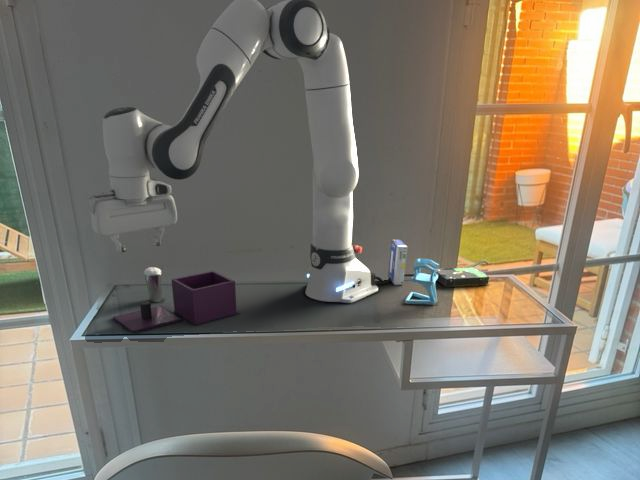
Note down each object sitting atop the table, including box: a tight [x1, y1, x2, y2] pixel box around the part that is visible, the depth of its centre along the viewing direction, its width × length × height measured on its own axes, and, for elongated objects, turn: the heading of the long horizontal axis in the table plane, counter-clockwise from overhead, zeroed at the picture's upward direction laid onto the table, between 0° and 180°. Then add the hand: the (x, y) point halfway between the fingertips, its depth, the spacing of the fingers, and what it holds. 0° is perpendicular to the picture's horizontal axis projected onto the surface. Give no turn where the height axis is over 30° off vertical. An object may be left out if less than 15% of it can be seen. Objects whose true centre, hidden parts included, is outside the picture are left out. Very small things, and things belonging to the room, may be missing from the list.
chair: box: [404, 258, 440, 306], centre depth 167 cm, size 8×8×12 cm
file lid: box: [112, 300, 182, 334], centre depth 150 cm, size 13×11×5 cm
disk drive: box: [436, 266, 490, 288], centre depth 186 cm, size 10×3×15 cm
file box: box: [171, 270, 237, 325], centre depth 154 cm, size 13×11×9 cm
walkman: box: [387, 239, 408, 286], centre depth 181 cm, size 8×3×12 cm, turn 10°
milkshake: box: [143, 265, 164, 303], centre depth 160 cm, size 4×5×10 cm
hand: (139, 248), depth 142 cm, fingers open, 8 cm apart
